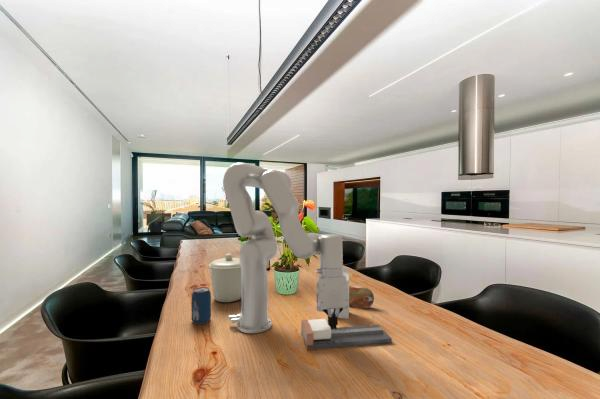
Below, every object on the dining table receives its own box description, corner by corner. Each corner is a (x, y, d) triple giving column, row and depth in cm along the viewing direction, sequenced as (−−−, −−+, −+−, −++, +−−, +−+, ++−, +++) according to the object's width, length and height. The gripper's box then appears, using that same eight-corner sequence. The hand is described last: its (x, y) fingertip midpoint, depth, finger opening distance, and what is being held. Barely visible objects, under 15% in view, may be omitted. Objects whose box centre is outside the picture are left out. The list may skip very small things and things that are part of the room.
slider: (312, 342, 87) (312, 330, 87) (307, 330, 95) (307, 319, 95) (331, 340, 88) (331, 329, 88) (324, 329, 96) (324, 318, 96)
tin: (338, 304, 123) (338, 285, 123) (340, 302, 126) (340, 283, 126) (373, 310, 117) (373, 290, 117) (374, 307, 120) (374, 287, 120)
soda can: (211, 316, 110) (211, 286, 110) (210, 324, 103) (210, 291, 103) (192, 318, 108) (193, 287, 108) (190, 326, 101) (190, 293, 101)
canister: (244, 290, 141) (245, 249, 141) (251, 303, 124) (251, 256, 124) (207, 294, 135) (207, 251, 135) (209, 308, 118) (209, 258, 118)
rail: (306, 350, 86) (306, 333, 86) (301, 334, 96) (301, 319, 96) (391, 343, 90) (391, 327, 90) (378, 328, 100) (378, 315, 100)
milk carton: (348, 319, 108) (348, 270, 108) (330, 317, 109) (330, 269, 109) (348, 312, 115) (349, 266, 115) (331, 310, 116) (332, 265, 116)
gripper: (311, 276, 87) (313, 335, 87) (357, 273, 89) (358, 330, 89) (307, 270, 94) (308, 324, 94) (349, 267, 97) (350, 320, 97)
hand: (332, 327), depth 92 cm, fingers closed
